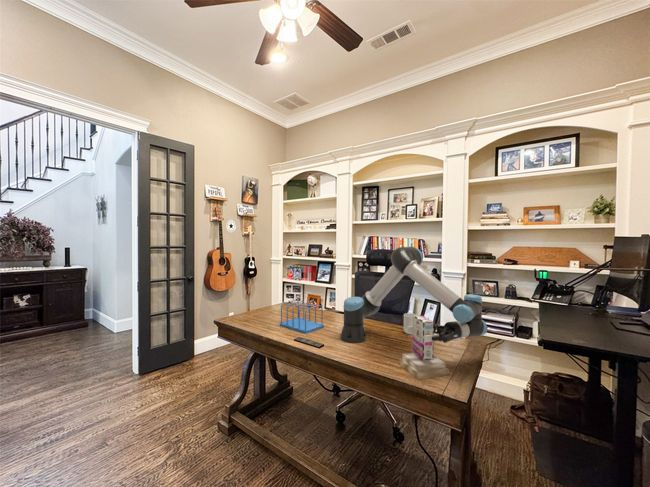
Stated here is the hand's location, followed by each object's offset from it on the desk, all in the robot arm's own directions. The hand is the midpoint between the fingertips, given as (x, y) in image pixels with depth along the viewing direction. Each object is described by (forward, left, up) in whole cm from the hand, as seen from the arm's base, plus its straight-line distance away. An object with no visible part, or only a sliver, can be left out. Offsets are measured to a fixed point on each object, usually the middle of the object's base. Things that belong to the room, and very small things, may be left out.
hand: (415, 334), depth 121 cm
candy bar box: (0, +4, -10) cm, 11 cm away
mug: (-45, +29, -16) cm, 55 cm away
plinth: (0, +4, -16) cm, 16 cm away
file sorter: (-75, -36, -16) cm, 85 cm away
